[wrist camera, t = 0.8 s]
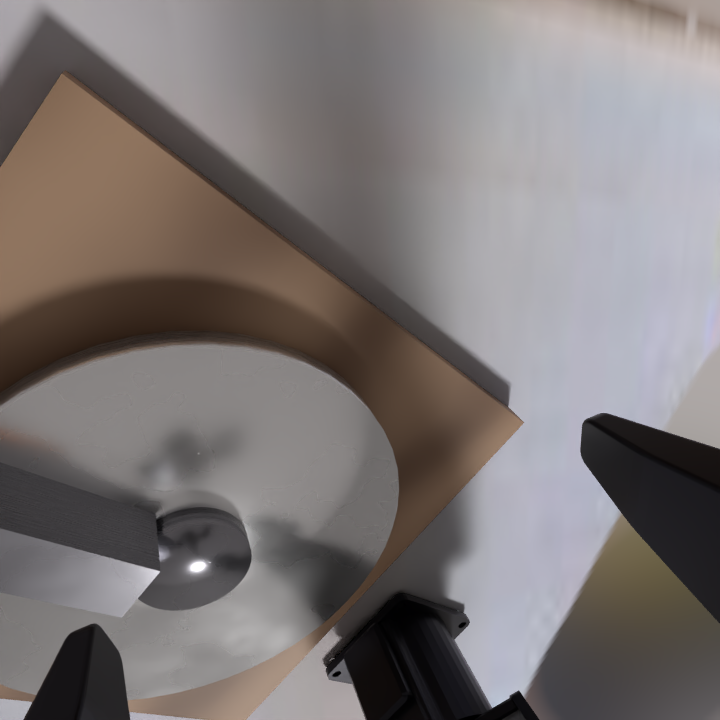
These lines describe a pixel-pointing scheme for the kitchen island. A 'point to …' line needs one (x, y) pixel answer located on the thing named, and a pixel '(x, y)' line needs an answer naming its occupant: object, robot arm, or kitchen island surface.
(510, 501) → the kitchen island surface
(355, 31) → the kitchen island surface
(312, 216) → the kitchen island surface
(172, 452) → the handwheel
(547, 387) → the kitchen island surface
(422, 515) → the wheel base
